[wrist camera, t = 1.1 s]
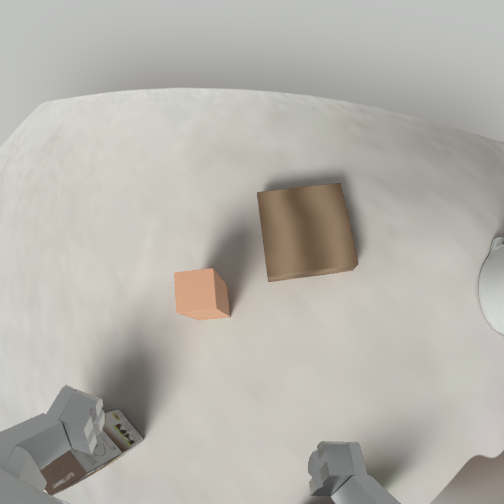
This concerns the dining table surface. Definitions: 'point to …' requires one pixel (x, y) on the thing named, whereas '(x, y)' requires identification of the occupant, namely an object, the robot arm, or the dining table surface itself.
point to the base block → (306, 232)
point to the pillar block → (201, 294)
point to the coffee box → (105, 452)
